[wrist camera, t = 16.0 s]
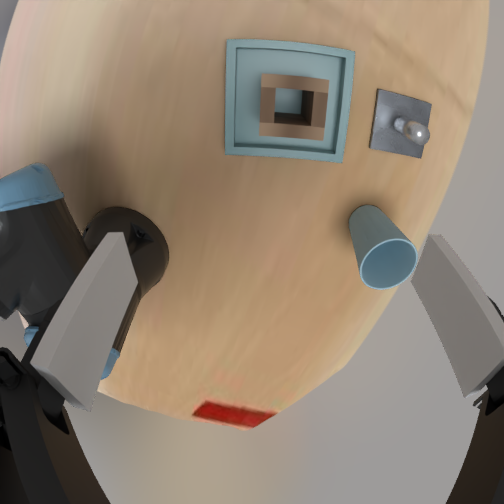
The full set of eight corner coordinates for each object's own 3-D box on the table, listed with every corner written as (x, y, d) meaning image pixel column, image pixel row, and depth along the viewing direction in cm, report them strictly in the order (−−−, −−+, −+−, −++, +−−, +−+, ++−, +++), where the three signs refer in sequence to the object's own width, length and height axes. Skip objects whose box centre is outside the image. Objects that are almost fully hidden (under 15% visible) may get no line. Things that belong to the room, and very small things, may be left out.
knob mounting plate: (368, 147, 32) (385, 161, 28) (377, 88, 28) (396, 93, 23) (419, 157, 32) (439, 172, 28) (429, 103, 28) (453, 111, 23)
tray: (227, 149, 34) (225, 154, 32) (229, 41, 26) (226, 39, 24) (337, 157, 34) (342, 163, 32) (349, 52, 25) (355, 51, 24)
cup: (355, 189, 36) (380, 230, 28) (398, 207, 37) (428, 249, 29) (332, 234, 41) (348, 282, 32) (374, 247, 42) (396, 294, 33)
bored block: (260, 121, 31) (258, 135, 25) (262, 73, 27) (261, 73, 21) (310, 125, 31) (323, 140, 24) (314, 78, 27) (329, 79, 21)
